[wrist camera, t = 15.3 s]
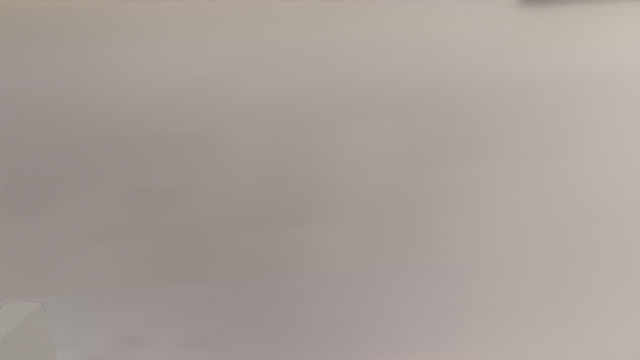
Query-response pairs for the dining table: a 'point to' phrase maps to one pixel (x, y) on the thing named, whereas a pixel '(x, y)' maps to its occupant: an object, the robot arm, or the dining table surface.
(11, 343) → the robot arm
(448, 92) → the dining table surface
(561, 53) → the dining table surface
